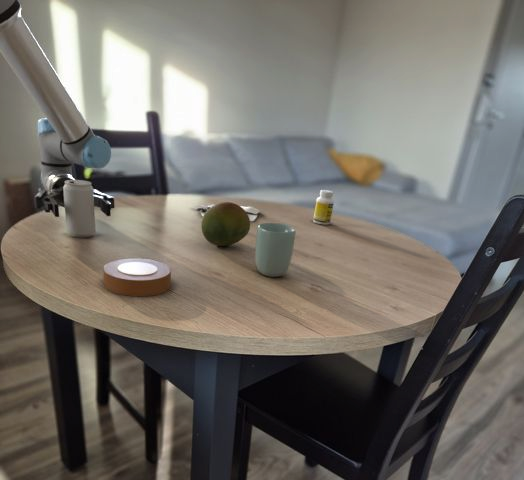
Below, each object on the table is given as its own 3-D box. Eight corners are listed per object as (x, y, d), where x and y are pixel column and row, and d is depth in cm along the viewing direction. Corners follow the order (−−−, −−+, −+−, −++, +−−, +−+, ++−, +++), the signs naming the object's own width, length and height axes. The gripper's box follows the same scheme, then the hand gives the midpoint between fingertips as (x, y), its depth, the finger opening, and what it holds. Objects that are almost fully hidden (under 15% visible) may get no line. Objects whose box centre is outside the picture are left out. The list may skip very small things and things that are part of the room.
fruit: (249, 241, 124) (253, 201, 119) (245, 255, 113) (249, 212, 108) (205, 235, 124) (207, 196, 120) (196, 249, 113) (198, 205, 108)
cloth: (266, 212, 157) (267, 205, 156) (246, 225, 138) (247, 217, 137) (208, 202, 161) (209, 195, 160) (181, 214, 142) (181, 205, 141)
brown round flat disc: (93, 291, 85) (92, 274, 83) (117, 269, 95) (117, 254, 94) (160, 300, 84) (160, 283, 83) (177, 277, 95) (177, 262, 93)
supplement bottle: (327, 226, 149) (332, 193, 145) (310, 222, 151) (315, 190, 146) (332, 223, 154) (337, 191, 149) (316, 219, 155) (321, 188, 151)
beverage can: (64, 231, 114) (60, 178, 109) (92, 230, 117) (89, 179, 112) (69, 238, 109) (65, 184, 104) (98, 237, 113) (95, 184, 107)
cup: (295, 279, 102) (302, 232, 97) (261, 280, 99) (266, 232, 94) (280, 267, 108) (285, 222, 103) (247, 268, 105) (252, 222, 100)
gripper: (110, 204, 131) (134, 225, 115) (17, 205, 120) (29, 228, 103) (109, 175, 127) (134, 193, 111) (13, 173, 116) (24, 192, 100)
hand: (83, 210), depth 107 cm, fingers open, 10 cm apart
